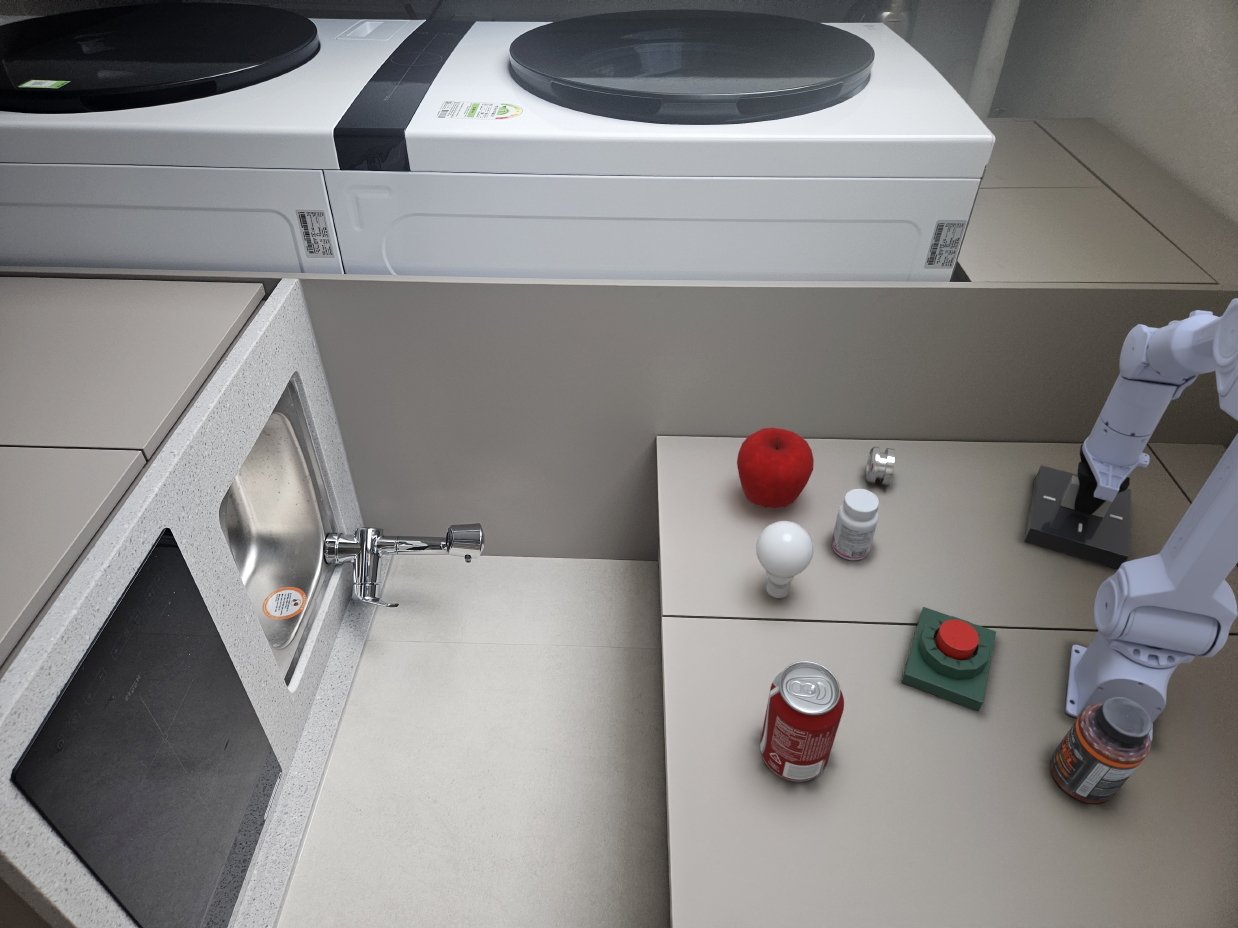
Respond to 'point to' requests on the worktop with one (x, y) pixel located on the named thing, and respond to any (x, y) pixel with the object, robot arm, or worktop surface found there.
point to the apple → (774, 467)
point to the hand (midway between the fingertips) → (1083, 504)
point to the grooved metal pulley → (880, 465)
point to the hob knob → (1070, 497)
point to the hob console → (1077, 522)
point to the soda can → (801, 721)
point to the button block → (948, 663)
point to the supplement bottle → (1102, 749)
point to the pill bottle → (855, 524)
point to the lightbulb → (783, 554)
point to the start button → (957, 639)
